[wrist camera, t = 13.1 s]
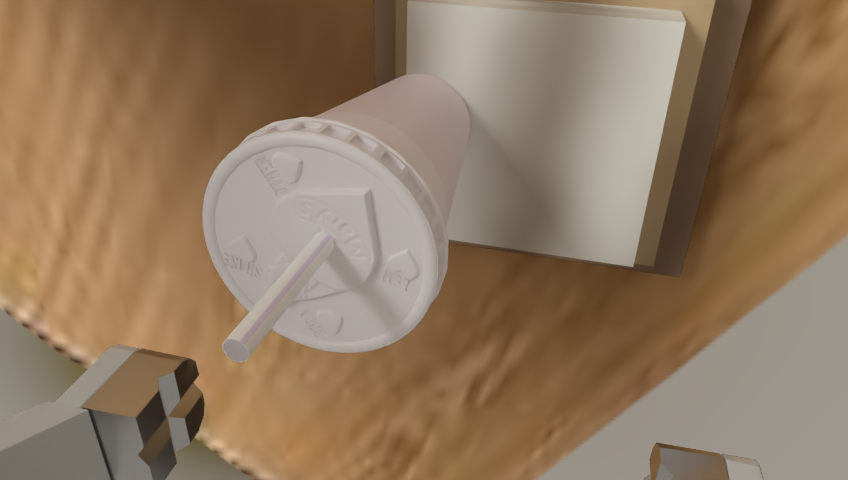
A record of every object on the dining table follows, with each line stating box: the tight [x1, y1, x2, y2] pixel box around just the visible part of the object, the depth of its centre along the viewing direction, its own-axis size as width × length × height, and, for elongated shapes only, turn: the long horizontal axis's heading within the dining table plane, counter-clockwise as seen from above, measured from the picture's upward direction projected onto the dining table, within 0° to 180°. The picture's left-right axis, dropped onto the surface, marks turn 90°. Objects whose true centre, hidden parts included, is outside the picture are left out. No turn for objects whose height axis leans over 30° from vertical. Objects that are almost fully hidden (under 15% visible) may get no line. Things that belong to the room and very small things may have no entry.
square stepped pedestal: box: [374, 0, 752, 277], centre depth 26 cm, size 14×14×6 cm
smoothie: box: [202, 73, 470, 362], centre depth 19 cm, size 6×6×14 cm
